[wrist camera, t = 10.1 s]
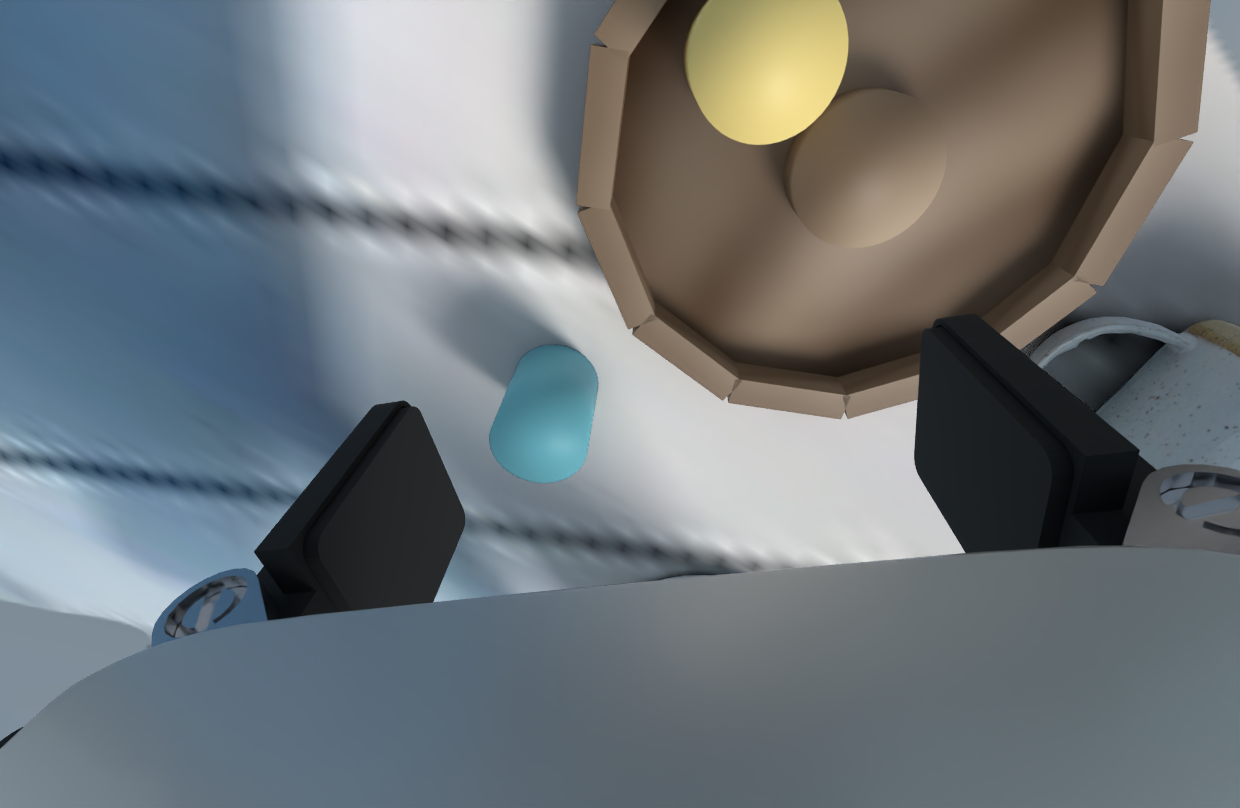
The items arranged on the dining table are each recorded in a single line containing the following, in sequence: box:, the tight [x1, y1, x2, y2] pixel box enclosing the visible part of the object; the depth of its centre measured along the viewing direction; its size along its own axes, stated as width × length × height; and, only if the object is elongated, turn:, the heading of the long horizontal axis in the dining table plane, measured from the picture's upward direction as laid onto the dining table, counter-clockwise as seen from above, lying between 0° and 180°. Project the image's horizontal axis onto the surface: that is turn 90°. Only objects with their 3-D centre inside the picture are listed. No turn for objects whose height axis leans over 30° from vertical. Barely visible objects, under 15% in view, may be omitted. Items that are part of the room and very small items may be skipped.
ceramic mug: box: [1029, 317, 1240, 471], centre depth 23 cm, size 11×8×8 cm
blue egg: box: [489, 345, 598, 483], centre depth 26 cm, size 4×4×5 cm
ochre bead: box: [684, 0, 848, 145], centre depth 17 cm, size 4×4×5 cm
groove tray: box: [576, 0, 1211, 419], centre depth 21 cm, size 19×19×2 cm
